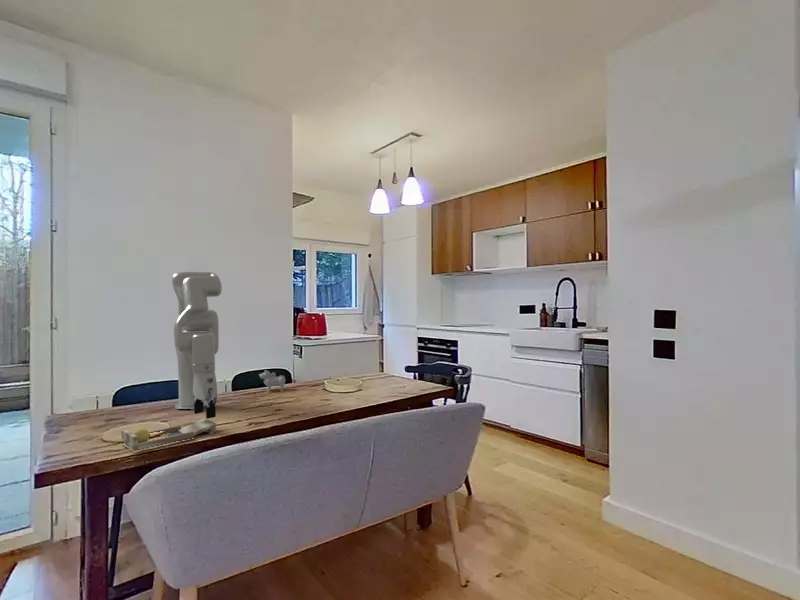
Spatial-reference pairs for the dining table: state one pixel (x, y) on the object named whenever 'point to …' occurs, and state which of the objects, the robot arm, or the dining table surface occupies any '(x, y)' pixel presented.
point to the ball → (142, 435)
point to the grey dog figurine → (272, 380)
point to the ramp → (199, 427)
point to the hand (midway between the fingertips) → (204, 415)
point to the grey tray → (132, 440)
